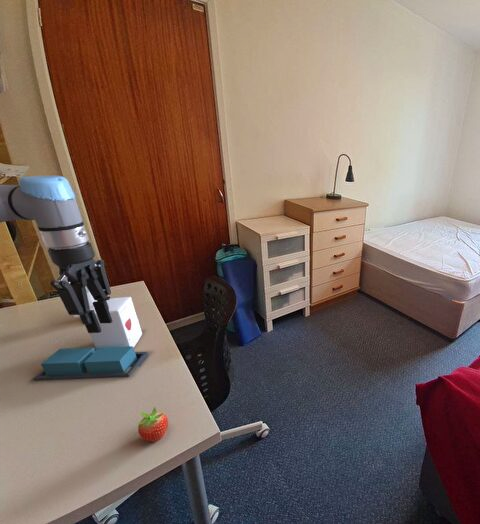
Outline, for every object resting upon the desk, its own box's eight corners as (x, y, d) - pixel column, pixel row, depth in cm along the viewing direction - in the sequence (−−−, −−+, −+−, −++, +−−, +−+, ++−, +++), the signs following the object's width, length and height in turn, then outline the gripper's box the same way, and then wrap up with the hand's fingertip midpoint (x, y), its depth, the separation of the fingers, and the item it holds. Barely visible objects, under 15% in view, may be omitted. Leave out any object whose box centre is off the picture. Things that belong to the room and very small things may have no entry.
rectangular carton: (132, 352, 87) (118, 311, 81) (98, 356, 85) (80, 315, 79) (143, 334, 95) (131, 295, 89) (112, 337, 93) (98, 298, 87)
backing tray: (36, 384, 75) (32, 378, 74) (64, 360, 83) (62, 354, 82) (130, 380, 77) (128, 374, 76) (149, 356, 85) (147, 351, 85)
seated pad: (47, 378, 76) (40, 363, 74) (66, 362, 82) (59, 348, 80) (83, 376, 77) (77, 362, 75) (99, 360, 82) (94, 347, 80)
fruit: (175, 426, 65) (168, 402, 62) (166, 449, 60) (157, 423, 57) (150, 429, 64) (141, 404, 61) (138, 452, 59) (127, 426, 56)
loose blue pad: (89, 376, 77) (83, 362, 75) (104, 360, 83) (99, 347, 81) (124, 374, 78) (119, 360, 76) (137, 359, 83) (132, 346, 82)
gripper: (56, 258, 58) (92, 347, 68) (110, 234, 74) (134, 309, 83) (16, 258, 58) (58, 348, 67) (79, 234, 73) (107, 310, 82)
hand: (100, 326), depth 75 cm, fingers open, 3 cm apart
